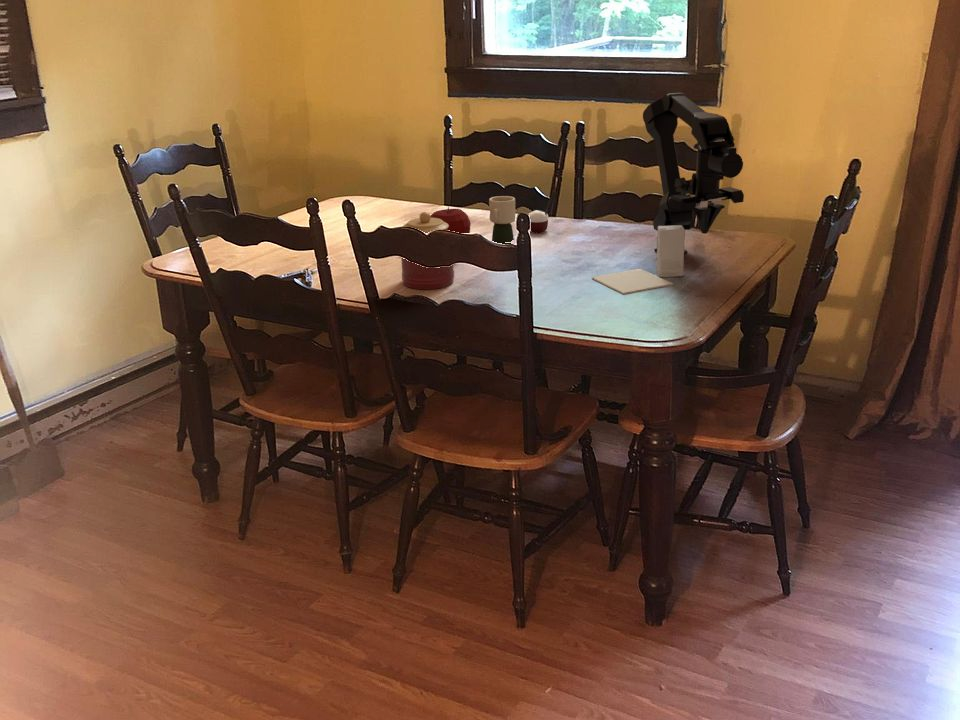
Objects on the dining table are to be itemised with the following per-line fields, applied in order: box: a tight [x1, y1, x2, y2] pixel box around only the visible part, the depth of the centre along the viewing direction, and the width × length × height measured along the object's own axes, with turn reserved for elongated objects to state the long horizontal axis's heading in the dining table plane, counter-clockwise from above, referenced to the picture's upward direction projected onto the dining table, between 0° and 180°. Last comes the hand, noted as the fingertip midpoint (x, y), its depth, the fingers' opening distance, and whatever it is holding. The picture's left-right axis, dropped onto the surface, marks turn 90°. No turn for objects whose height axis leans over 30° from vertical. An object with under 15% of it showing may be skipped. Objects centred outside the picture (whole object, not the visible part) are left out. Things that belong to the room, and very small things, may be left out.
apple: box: [430, 206, 472, 234], centre depth 250 cm, size 12×12×13 cm
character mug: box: [488, 195, 516, 245], centre depth 258 cm, size 11×7×13 cm, turn 156°
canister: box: [400, 211, 455, 290], centre depth 228 cm, size 13×13×18 cm
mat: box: [591, 268, 674, 295], centre depth 226 cm, size 14×14×1 cm
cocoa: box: [528, 189, 555, 234], centre depth 270 cm, size 10×6×12 cm, turn 62°
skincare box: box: [656, 225, 686, 278], centre depth 228 cm, size 6×4×12 cm
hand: (704, 233), depth 231 cm, fingers closed
